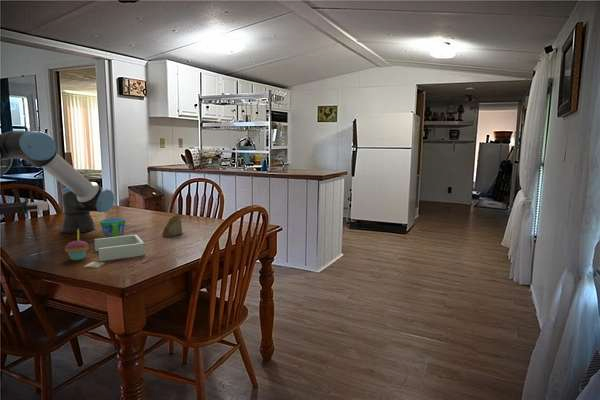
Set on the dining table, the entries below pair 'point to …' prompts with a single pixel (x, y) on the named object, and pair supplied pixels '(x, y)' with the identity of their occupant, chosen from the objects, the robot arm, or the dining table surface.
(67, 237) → the dining table surface
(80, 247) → the cupcake
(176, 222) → the rock
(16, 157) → the robot arm
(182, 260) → the dining table surface
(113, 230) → the snack cup
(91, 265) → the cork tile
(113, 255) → the tray
